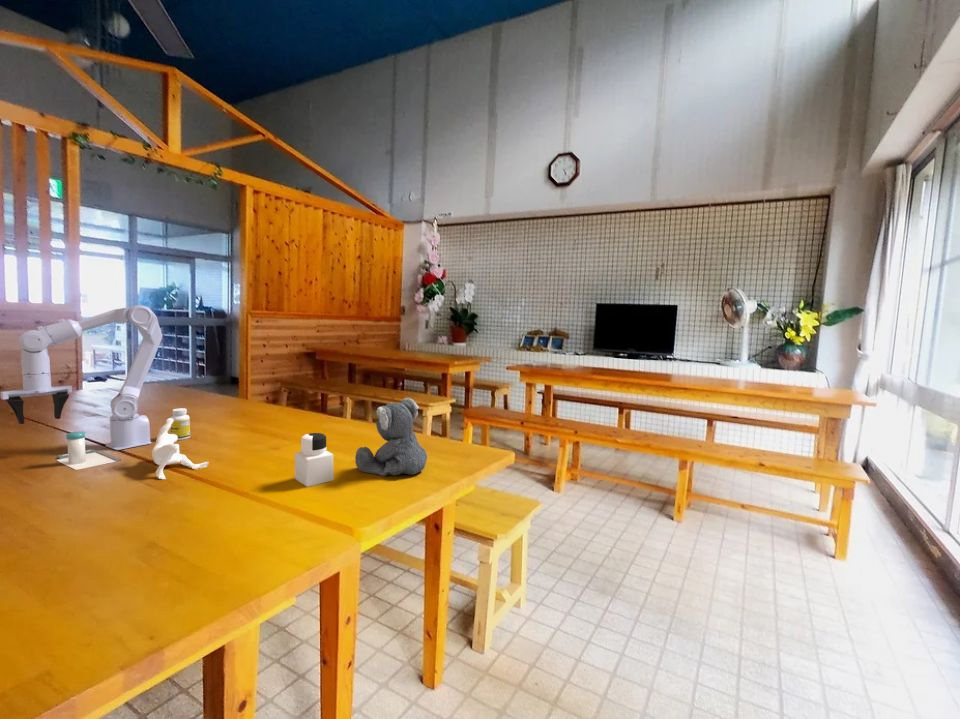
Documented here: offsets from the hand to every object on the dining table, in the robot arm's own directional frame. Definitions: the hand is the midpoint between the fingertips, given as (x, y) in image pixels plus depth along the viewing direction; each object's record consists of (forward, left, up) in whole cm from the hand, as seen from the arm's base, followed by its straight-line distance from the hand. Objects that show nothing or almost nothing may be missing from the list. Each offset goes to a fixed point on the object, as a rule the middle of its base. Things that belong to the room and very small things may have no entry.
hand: (39, 420), depth 131 cm
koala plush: (-51, +88, -11) cm, 102 cm away
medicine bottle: (-32, +77, -11) cm, 84 cm away
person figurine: (-16, +38, -11) cm, 42 cm away
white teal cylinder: (-4, +14, -10) cm, 18 cm away
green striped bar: (-6, +6, -10) cm, 13 cm away
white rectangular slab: (-6, +14, -10) cm, 18 cm away
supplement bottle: (-32, +10, -11) cm, 35 cm away
